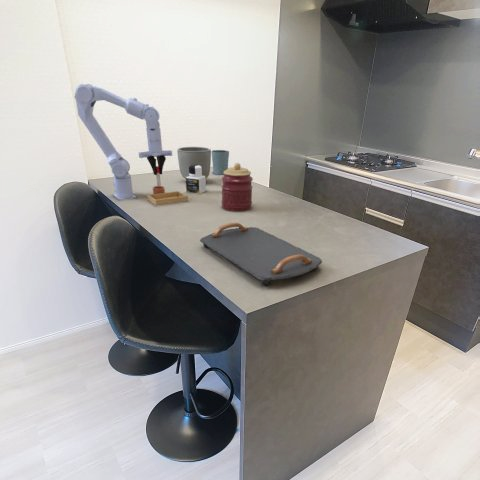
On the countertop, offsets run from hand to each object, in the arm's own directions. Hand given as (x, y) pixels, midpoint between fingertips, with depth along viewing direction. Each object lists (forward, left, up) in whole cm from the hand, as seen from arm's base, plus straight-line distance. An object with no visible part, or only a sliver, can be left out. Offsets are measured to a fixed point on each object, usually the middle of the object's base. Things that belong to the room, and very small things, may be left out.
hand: (157, 174), depth 157 cm
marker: (0, 0, -5) cm, 5 cm away
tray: (+8, +1, -10) cm, 13 cm away
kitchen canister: (+30, +23, -10) cm, 39 cm away
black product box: (-1, +19, -10) cm, 22 cm away
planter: (-20, +28, -10) cm, 36 cm away
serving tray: (+79, +1, -10) cm, 79 cm away
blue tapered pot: (-33, +51, -10) cm, 62 cm away
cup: (-1, 0, -10) cm, 10 cm away
